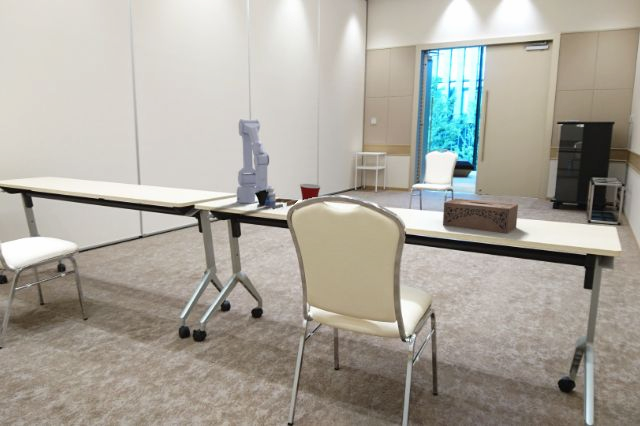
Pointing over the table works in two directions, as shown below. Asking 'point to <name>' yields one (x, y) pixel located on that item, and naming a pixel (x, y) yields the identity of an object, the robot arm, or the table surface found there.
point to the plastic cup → (309, 190)
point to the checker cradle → (273, 206)
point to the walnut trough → (289, 201)
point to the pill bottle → (270, 198)
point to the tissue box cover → (480, 215)
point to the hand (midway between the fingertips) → (261, 206)
